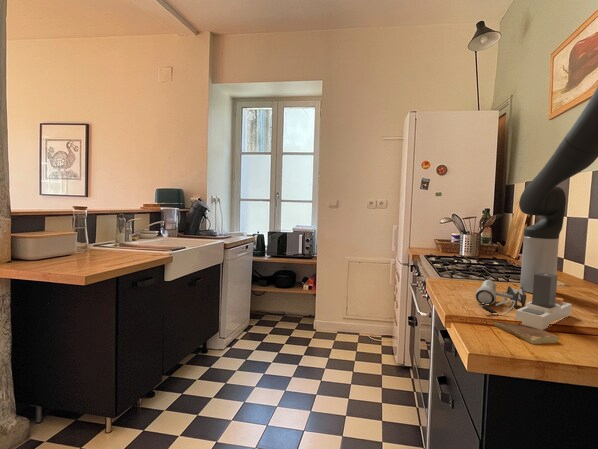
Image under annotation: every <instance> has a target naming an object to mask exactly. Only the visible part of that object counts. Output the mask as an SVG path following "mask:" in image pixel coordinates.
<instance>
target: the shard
mask: <svg viewBox="0 0 598 449" xmlns="http://www.w3.org/2000/svg"><path fill="white" fill-rule="evenodd" d="M492 322H493V325H494V327H496V328H498V329H501V330H503V331H505V332H508V333H510V334H513V335H514V336H515V337H516V336H517V337H518V338H520V339H522V340H523V341H525V342H527V343H529V344H532V345H538V344H556V343H557V342H558V341H559V340H560V337H559V336H558V335H555V334H552V333H550V332H548V331H546V330H545V329H544V330H540V329H536V328H533V327H529V326H525V325H521V324H513V323H507V322H501V321H495V320H492Z"/></svg>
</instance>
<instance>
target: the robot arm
mask: <svg viewBox="0 0 598 449" xmlns="http://www.w3.org/2000/svg"><path fill="white" fill-rule="evenodd" d="M584 107H585V108H584V109H583V110H582V111H581V113H580V115H579V116H578V117H577V119H576V120H575V123H574V124H573V125H572V126H571V128H570V129H569V130H568V131H567V133H566V134H565V135H564V137H563V139H562V141H561V142H560V143H559V145H558V146H557V147H556V150H555V151H554V153H552V155H551V156H550V158H549V159H548V161H547V162H546V163H545V165H544V166H543V168H542V169H540V171H539V172H538V173H537V175H535V177H534V178H533V179H532V180H531V181H530V183H528V185H527V186H526V187H524V188H525V189H523V191H522V193H521V195H520V197H519V201H518V203H519V205H518V206H519V209H520V211H521V212H522V213H523V214H525V215H527V216H528V215H529V216H540V220H538V221H537V222H536V223H534V224H531V225H529V226H526V227H525V228H524V230H523V242H522V243H523V244H522V255H521V269H520V271H521V272H520V281H519V289H520V288H521V287H523V290H524V292H527V293H531V294H533V284H534V274H538V273H546V274H552V275H557V270H558V269H557V267H558V258H559V257H558V254H559V244H560V243H559V241H560V234H561V232H562V230H563V225H564V218H565V212H566V206H567V197H566V196H567V195H566V193H565V190H564V189H563V188H561V187H560V186H558V185H560V184H561V183H562V182H565V181H566V180H569V179H570V178H572V177H574V176H576V175H577V174H579V173H581V172H582V171H584V170H586V169H587V168H588V167H590V166H591V165H592V164H594V163H595V161H596V160H597V159H598V85H597V86H596V88H595V90H594V92H593V94H592V96H591V97H590V99H589V101H588V103H587V104H586V106H584Z"/></svg>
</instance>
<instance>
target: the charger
mask: <svg viewBox="0 0 598 449" xmlns="http://www.w3.org/2000/svg"><path fill="white" fill-rule="evenodd" d="M557 284H558V275H557V274H556V275H552V274H546V273H538V274H534V284H533V293H532V299H531V301H532V305H537V306H541V307H545V308H552V307H555V300H556V297H557V286H558V285H557Z"/></svg>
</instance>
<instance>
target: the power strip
mask: <svg viewBox="0 0 598 449" xmlns="http://www.w3.org/2000/svg"><path fill="white" fill-rule="evenodd" d="M572 305H573V304H572V303H569V302H565V301H564V298H562V297H557V296H556V300H555V307H552V308H545V307H541V306H537V305H532V300H531V301H528V302H525V306H524V307H523V308H521V307H520V308H518V309H516V310H515V319H517V320H519V321H522V324H521V326H525V327H530V328H535V329H540V330H544V331H545V330H546V329H547V328H549V327H550V326H549V324H550V323H551V322H554V321H556V320H559V319H561V318H563V317H566V316H569V315H571V314H572ZM571 316H572V315H571ZM569 317H570V316H569ZM515 319H514V320H515ZM548 326H549V327H548Z"/></svg>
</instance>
